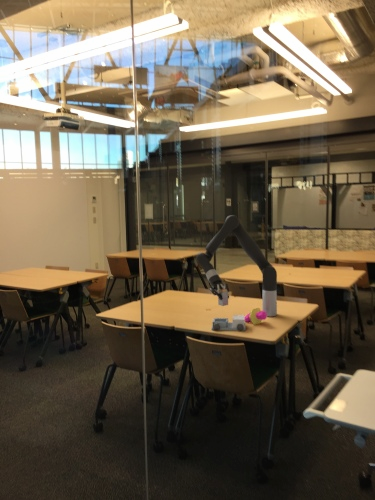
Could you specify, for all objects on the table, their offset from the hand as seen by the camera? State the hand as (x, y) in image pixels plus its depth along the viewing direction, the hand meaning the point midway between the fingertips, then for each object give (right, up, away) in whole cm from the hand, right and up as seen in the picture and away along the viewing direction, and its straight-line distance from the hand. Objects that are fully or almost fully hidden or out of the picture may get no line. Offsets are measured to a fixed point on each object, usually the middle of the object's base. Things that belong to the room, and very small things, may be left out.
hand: (225, 298), depth 259 cm
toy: (+19, -15, -1) cm, 25 cm away
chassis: (+1, -16, -10) cm, 19 cm away
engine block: (-1, -4, +2) cm, 5 cm away
